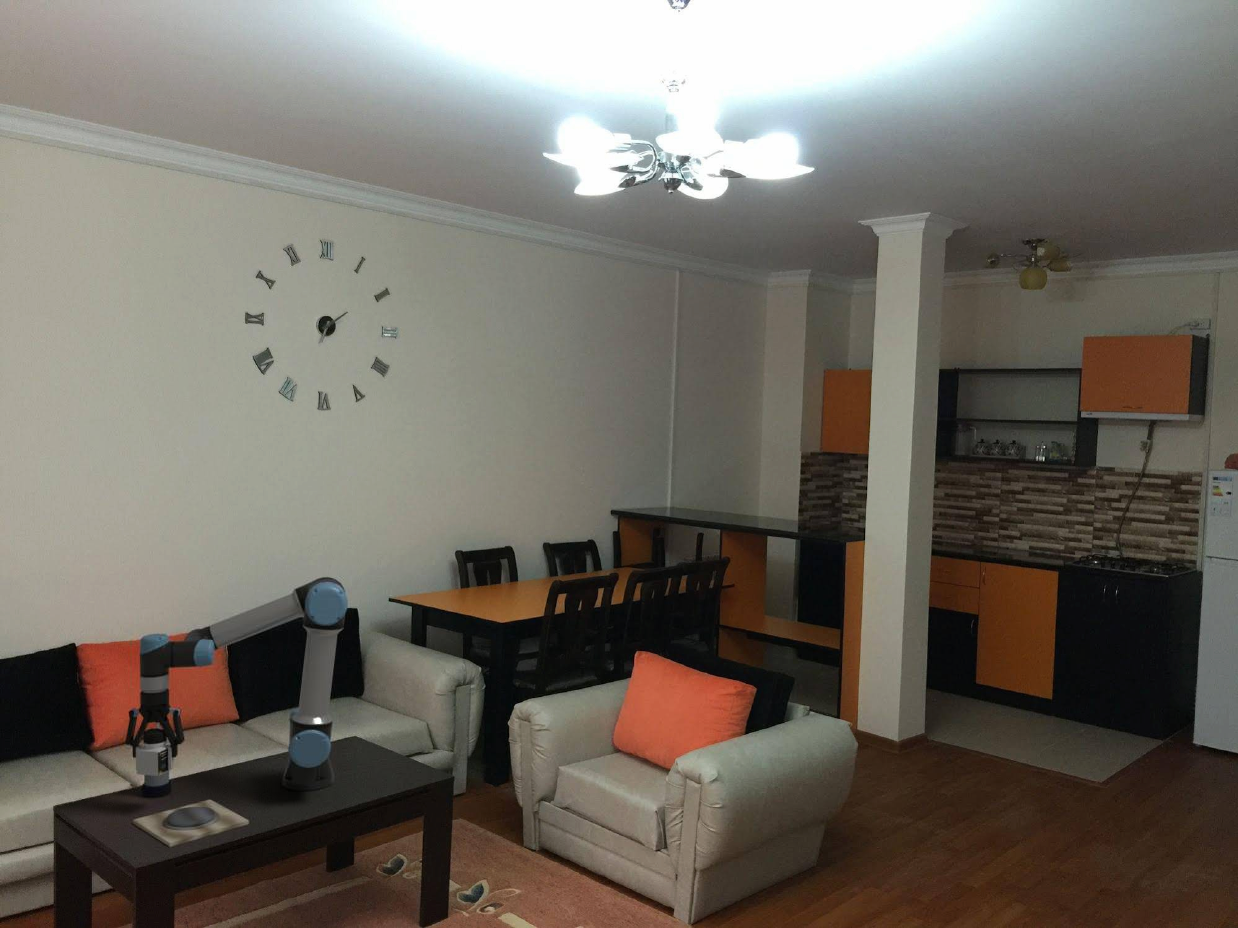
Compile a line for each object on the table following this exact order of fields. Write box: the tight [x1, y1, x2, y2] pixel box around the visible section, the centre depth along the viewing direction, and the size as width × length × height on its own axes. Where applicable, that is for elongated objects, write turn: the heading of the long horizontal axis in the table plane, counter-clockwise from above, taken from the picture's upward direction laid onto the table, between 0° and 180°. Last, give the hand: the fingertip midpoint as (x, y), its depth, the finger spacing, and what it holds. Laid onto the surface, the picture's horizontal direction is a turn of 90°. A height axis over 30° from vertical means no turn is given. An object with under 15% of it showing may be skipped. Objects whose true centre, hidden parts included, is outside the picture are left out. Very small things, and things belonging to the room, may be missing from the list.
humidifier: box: [141, 723, 172, 799], centre depth 305 cm, size 8×8×25 cm
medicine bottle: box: [135, 727, 174, 776], centre depth 292 cm, size 7×7×12 cm
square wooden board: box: [132, 799, 250, 848], centre depth 283 cm, size 22×22×2 cm
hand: (155, 768), depth 292 cm, fingers closed on medicine bottle, 8 cm apart
